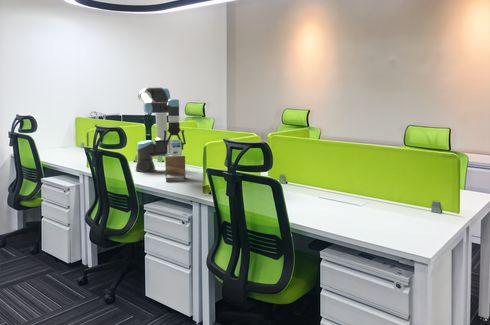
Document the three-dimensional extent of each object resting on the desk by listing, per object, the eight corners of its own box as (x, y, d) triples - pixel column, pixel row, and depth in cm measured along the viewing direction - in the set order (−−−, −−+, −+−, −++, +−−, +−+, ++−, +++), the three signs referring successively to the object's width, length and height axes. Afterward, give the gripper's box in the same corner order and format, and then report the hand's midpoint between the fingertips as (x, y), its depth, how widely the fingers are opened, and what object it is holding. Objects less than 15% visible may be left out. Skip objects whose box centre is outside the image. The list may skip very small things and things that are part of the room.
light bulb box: (181, 155, 302) (181, 140, 300) (172, 156, 299) (172, 140, 297) (176, 153, 311) (176, 138, 309) (167, 154, 308) (167, 139, 306)
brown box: (165, 177, 317) (165, 155, 314) (185, 177, 318) (185, 155, 316) (164, 181, 302) (164, 159, 300) (184, 181, 304) (184, 158, 301)
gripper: (158, 122, 297) (158, 155, 300) (189, 122, 299) (189, 155, 302) (158, 121, 304) (159, 153, 307) (189, 121, 306) (189, 153, 310)
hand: (174, 154), depth 305 cm, fingers closed on light bulb box, 8 cm apart
